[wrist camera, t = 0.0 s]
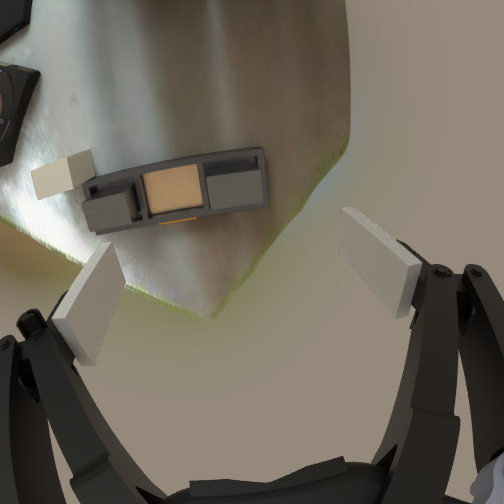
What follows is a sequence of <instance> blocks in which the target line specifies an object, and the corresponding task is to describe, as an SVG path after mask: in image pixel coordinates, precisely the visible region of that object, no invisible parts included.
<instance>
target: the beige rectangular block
mask: <svg viewBox="0 0 504 504" xmlns="http://www.w3.org/2000/svg"><path fill="white" fill-rule="evenodd" d="M31 176H32V180H33V184H34V188H35V192H36V196H37V199H38V200H41V199H44V198H46V197H49V196H52V195H56V194H59V193H62V192H65V191H68V190H72V189H74V188H76V187H77V186H79V185H81V184H82V183H84V182H85V181H87V180H89V179H90V178H92V177H94V176H95V172H94V168H93V163H92V158H91V153H90V149H88V150H85V151H82V152H79V153H76V154H73V155H70V156H68V157H65V158H62V159H59V160H57V161H54V162H52V163H49V164H47V165H44V166H42V167H40V168H37V169H35V170H33V171H31Z"/></svg>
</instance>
